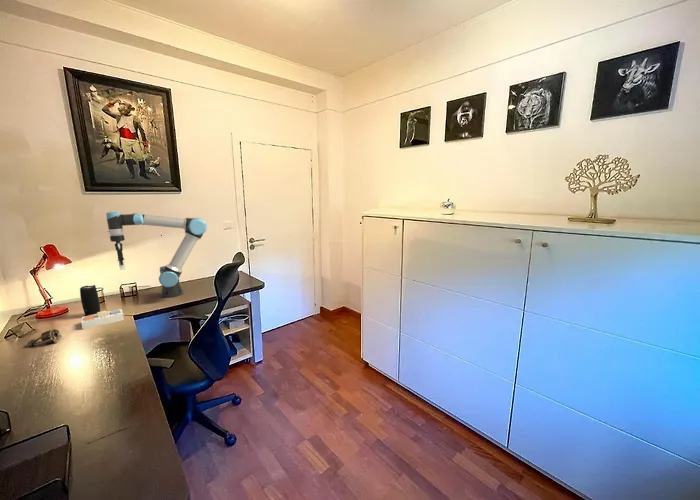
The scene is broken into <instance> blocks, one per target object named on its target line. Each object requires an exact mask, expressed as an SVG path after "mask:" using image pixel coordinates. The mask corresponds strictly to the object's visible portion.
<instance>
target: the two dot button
mask: <svg viewBox="0 0 700 500" xmlns="http://www.w3.org/2000/svg"><path fill="white" fill-rule="evenodd" d="M107 312H108V310H100V312H97V315H98V317H103V316H107Z"/></svg>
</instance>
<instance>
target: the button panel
mask: <svg viewBox="0 0 700 500" xmlns="http://www.w3.org/2000/svg"><path fill="white" fill-rule="evenodd" d="M114 310H115V309H114ZM114 310H112V311H114ZM117 310H119V311H120V313H117V314H112V315H111V313H110V311H111V310H107V316H103V317H98V315H97V314H94V316H95V318H93V319H89V320H84V317H86V316H85V315H84V316H81V327H82V330H86V329H91V328H94V327H99V325H100V326H104V325H107V324H112V323H116V322H120V321H124V320H125V317H124V313H123V310H122V308H118V309H117ZM89 316H91V315H89Z"/></svg>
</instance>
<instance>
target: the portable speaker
mask: <svg viewBox="0 0 700 500" xmlns="http://www.w3.org/2000/svg"><path fill="white" fill-rule="evenodd" d="M96 287H97V286H96V285H95V284H94V285H93V284H92V285H82V286H81V287H80V288H79V295H80V301H81V302H80V303H81V306H82V309H83V313H84V316H89V315H94V314H97V312H101V306H100V305H101V304H100V299H99V294H98V290H97V288H96Z"/></svg>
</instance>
